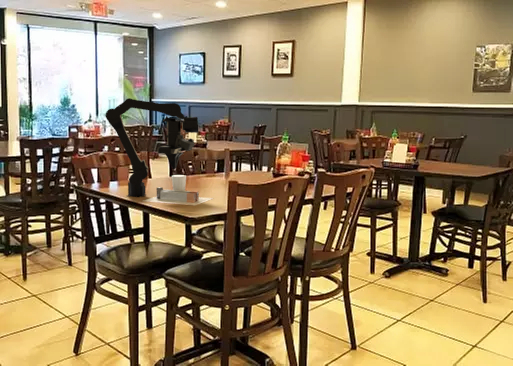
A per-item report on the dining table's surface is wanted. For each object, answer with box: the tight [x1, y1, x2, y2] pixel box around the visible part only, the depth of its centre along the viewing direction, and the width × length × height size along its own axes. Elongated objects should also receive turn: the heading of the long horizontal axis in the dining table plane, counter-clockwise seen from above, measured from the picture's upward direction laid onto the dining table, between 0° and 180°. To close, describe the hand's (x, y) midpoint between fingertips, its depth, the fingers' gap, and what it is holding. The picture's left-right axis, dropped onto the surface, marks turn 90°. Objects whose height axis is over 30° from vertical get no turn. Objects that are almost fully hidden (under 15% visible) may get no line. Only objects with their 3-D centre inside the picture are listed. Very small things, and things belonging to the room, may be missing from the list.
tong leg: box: [156, 186, 200, 201], centre depth 213 cm, size 18×3×4 cm, turn 74°
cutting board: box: [142, 196, 214, 206], centre depth 214 cm, size 24×18×1 cm
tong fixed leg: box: [160, 191, 196, 203], centre depth 210 cm, size 15×2×4 cm, turn 71°
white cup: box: [171, 174, 187, 191], centre depth 242 cm, size 7×7×7 cm
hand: (174, 168), depth 224 cm, fingers closed
